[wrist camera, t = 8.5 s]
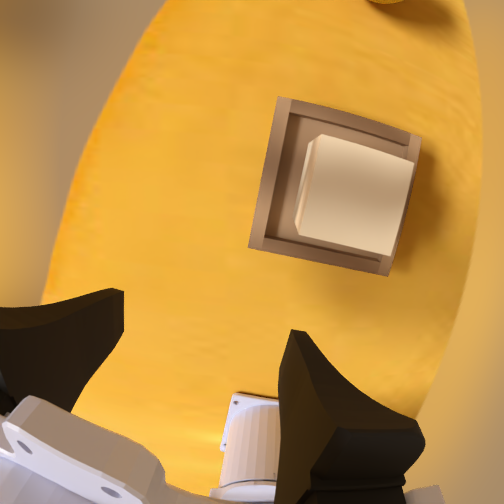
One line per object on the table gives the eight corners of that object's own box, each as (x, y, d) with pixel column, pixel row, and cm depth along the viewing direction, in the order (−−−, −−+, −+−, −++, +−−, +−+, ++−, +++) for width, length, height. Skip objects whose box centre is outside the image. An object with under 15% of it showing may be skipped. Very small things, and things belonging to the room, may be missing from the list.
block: (362, 233, 18) (390, 256, 13) (292, 216, 18) (298, 234, 13) (379, 162, 17) (414, 163, 12) (308, 143, 17) (321, 134, 12)
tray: (373, 261, 21) (388, 276, 18) (251, 235, 21) (247, 247, 18) (401, 140, 18) (421, 137, 15) (277, 107, 18) (277, 96, 15)
